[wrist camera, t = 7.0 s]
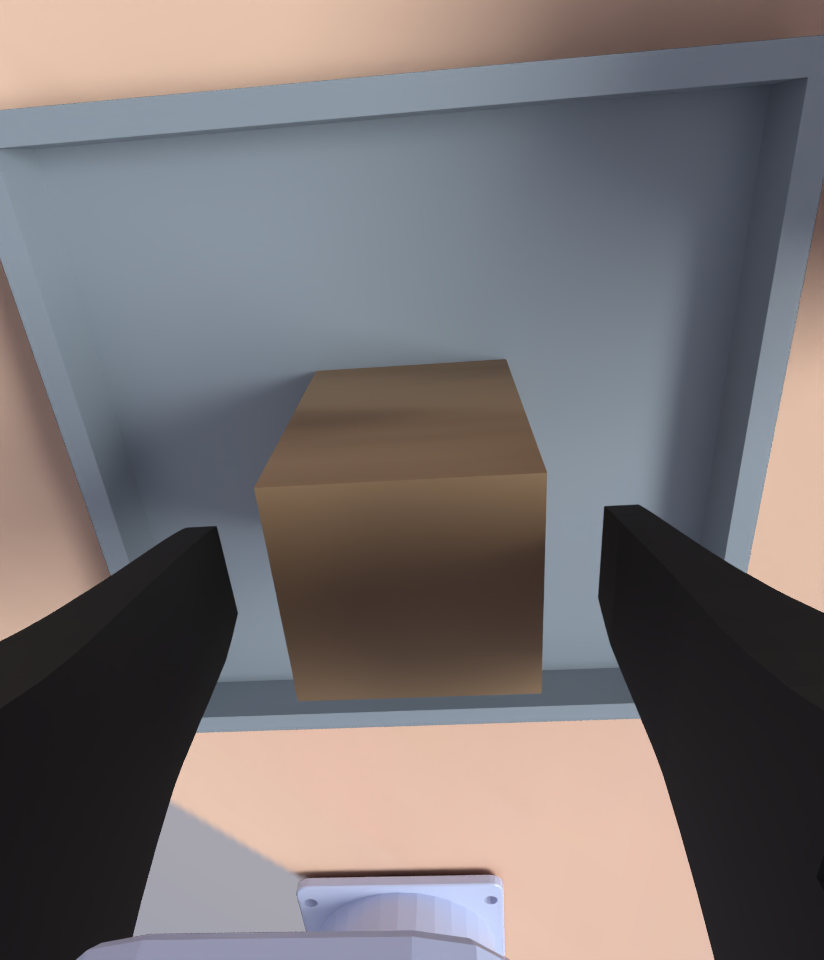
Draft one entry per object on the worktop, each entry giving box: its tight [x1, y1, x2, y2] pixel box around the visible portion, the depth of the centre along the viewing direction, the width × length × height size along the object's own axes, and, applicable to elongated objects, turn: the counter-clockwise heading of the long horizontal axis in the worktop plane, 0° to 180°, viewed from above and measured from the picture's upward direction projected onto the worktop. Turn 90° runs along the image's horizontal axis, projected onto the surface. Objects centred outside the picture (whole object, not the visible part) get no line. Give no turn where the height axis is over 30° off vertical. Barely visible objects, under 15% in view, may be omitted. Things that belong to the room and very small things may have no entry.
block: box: [254, 359, 547, 701], centre depth 13 cm, size 4×4×6 cm
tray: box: [0, 35, 824, 733], centre depth 16 cm, size 16×16×2 cm
